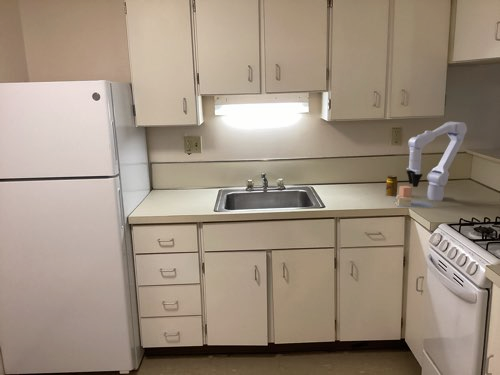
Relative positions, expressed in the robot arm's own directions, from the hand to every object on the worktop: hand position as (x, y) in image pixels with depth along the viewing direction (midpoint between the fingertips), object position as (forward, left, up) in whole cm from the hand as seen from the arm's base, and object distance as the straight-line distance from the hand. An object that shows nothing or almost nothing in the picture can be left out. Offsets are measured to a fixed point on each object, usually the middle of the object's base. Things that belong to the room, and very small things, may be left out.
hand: (413, 185), depth 225 cm
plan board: (+6, -1, -10) cm, 12 cm away
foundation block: (+6, -6, -9) cm, 12 cm away
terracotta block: (+5, -5, -5) cm, 8 cm away
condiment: (-15, -7, -10) cm, 19 cm away
